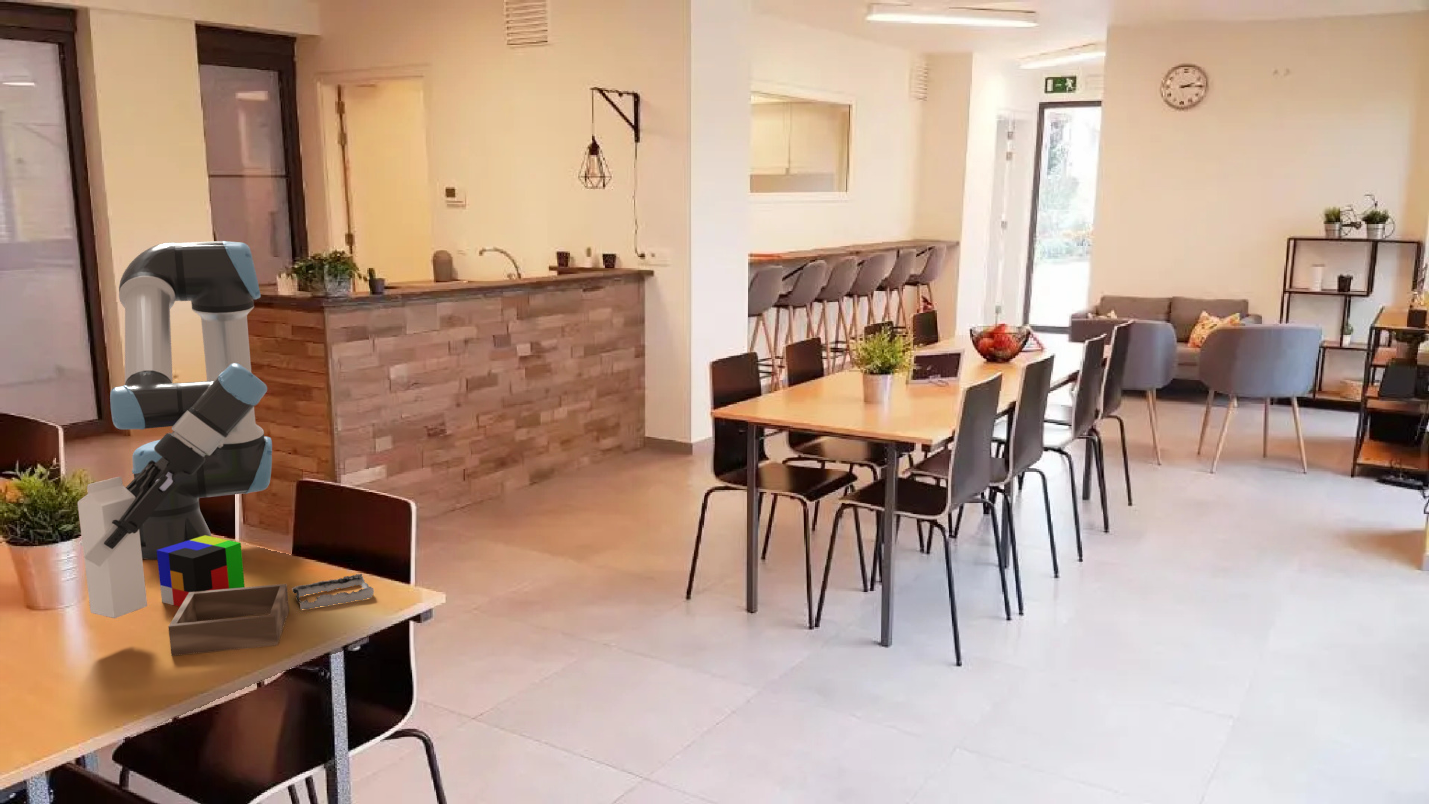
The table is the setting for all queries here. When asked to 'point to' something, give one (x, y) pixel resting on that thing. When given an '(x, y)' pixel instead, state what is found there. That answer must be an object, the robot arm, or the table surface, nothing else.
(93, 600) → the milk
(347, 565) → the table surface
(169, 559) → the puzzle toy
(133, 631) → the table surface
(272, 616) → the walnut box
